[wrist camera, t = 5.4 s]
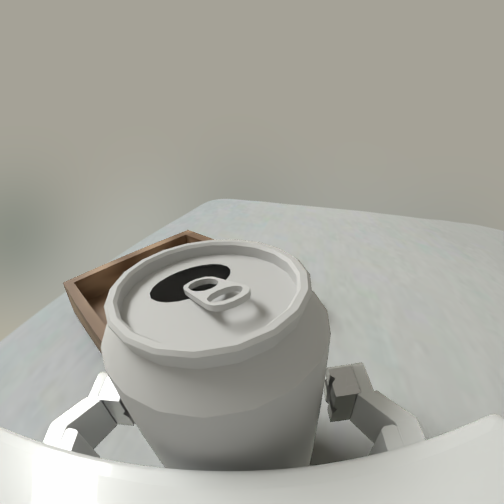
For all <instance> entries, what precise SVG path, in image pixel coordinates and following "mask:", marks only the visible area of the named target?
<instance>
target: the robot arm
mask: <svg viewBox="0 0 504 504" xmlns="http://www.w3.org/2000/svg"><path fill="white" fill-rule="evenodd" d="M326 378H327V379H326V380H325V381H324V395H325V401H326V402H327V403H328V404H329V405H328V414H329V418H330V422H335V421H342V420H349V419H350V421H351V422H352V423H353V424H354V425H355V426H356V427H358V428H359V429H360V430H361V431H362V432H363V433H364V434H365V435H366V436H367V437H368V438H369V439H370V440H371V441H372V442H373V443H374V446H373V447H372V449H371V451H370V453H369V455H368V456H365V457H361V458H356V459H351V460H345V461H340V462H334V463H328V464H321V465H314V466H306V467H297V468H287V469H275V470H257V471H201V470H183V469H171V468H161V467H152V466H144V465H137V464H131V463H124V462H119V461H113V460H108V459H103V458H100V456H99V455H98V454H97V453H96V452H95V451H94V448H95V447H96V446H97V445H98V444H99V443H100V442H101V441H102V440H103V439H104V438H105V437H106V436H107V435H108V434H109V433H110V432H111V431H112V430H113V429H114V428H115V427H116V426H117V424H121V425H131V426H134V423H135V422H134V420H133V419H132V417H131V415H130V414H129V412H128V410H127V409H126V407H125V405H124V404H123V402H122V400H121V398H120V397H119V395H118V393H117V391H116V389H115V388H114V386H113V384H112V382H111V380H110V378H109V376H108V374H107V373H106V372H100V373H99V374H98V376H97V379H96V381H95V383H94V385H93V388H92V390H91V392H90V394H89V397H88V398H84V399H83V400H82V401H80V402H79V403H78V404H76V405H75V406H73V407H72V408H71V409H69V410H68V411H67V412H65V413H64V414H63V415H61V416H60V417H59V418H57V419H56V420H54V421H53V422H52V423H51V425H50V427H49V429H48V432H47V434H46V436H45V439H44V441H43V443H42V442H39V441H36V440H33V439H30V438H28V437H25V436H22V435H19V434H17V433H14V432H12V431H9V430H7V429H4V428H2V427H0V504H504V417H502V416H499V415H497V414H491V415H488V416H486V417H483V418H481V419H479V420H477V421H474V422H472V423H470V424H467V425H465V426H463V427H460V428H458V429H455V430H452V431H450V432H447V433H444V434H442V435H439V436H436V437H433V438H430V439H427V440H426V439H425V437H424V435H423V432H422V430H421V427H420V425H419V422H418V420H417V418H416V417H415V416H414V415H412V414H411V413H409V412H408V411H406V410H405V409H403V408H402V407H400V406H399V405H397V404H396V403H394V402H393V401H392V400H390V399H389V398H387V397H386V396H384V395H383V394H381V393H380V392H379V391H374V390H373V387H372V385H371V382H370V380H369V377H368V374H367V372H366V369H365V367H364V364H363V363H355V364H348V365H341V366H335V367H328V368H327V369H326Z"/></svg>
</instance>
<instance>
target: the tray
mask: <svg viewBox="0 0 504 504" xmlns="http://www.w3.org/2000/svg"><path fill="white" fill-rule="evenodd" d="M207 240H214V239H211V238H209V237H206V236H203V235H200V234H198V233H195V232H192V231H189V230H187V231H184V232H182V233H179V234H177V235H174V236H172V237H169V238H167V239H164V240H162V241H159V242H157V243H155V244H152V245H150V246H147V247H145V248H142V249H140V250H138V251H135V252H133V253H130V254H128V255H126V256H123V257H121V258H118V259H116V260H114V261H111V262H109V263H107V264H104V265H102V266H100V267H98V268H95V269H93V270H91V271H88V272H86V273H84V274H82V275H79V276H77V277H75V278H73V279H70V280H68V281H66V282H64V283H63V284H64V287H65V289H66V292H67V295H68V297H69V300H70V302H71V305H72V307H73V310H74V312H75V314H76V315H77V317H78V319H79V320H80V322H81V323H82V325H83V327H84V328H85V330H86V331H87V333H88V334H89V336H90V337H91V339H92V340H93V342H94V343H95V345H96V346H97V348H98V349H99V351H100V352H101V354H102V351H101V343H102V340H103V336H104V332H105V329H106V325H107V319H106V314H105V309H104V305H105V302H106V299H107V296H108V293H109V290H110V288H111V287H112V286H113V285H114V283H115V282H116V281H117V280H118V279H119V278H120V276H121V275H122V274H123V273H124V272H125V271H126V270H128V269H129V268H131V267H132V266H134V265H135V264H137V263H138V262H139V261H141V260H142V259H145V258H147V257H149V256H151V255H154V254H156V253H158V252H160V251H163V250H166V249H169V248H173V247H176V246H180V245H183V244H187V243H193V242H200V241H207Z"/></svg>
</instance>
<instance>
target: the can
mask: <svg viewBox="0 0 504 504" xmlns="http://www.w3.org/2000/svg"><path fill="white" fill-rule="evenodd" d="M104 309H105V314H106V319H107V325H106V329H105V332H104V336H103V340H102V343H101V351H102V356H103V361H104V366H105V371H106V373H107V374H108V376H109V378H110V380H111V382H112V384H113V386H114V388H115V389H116V391H117V393H118V395H119V397H120V398H121V400H122V402H123V404H124V405H125V407H126V409H127V410H128V412H129V414H130V415H131V417H132V419H133V420H134V422H135V424H136V425H137V427H138V428H139V430H140V431H141V433H142V435H143V436H144V438H145V439H146V441H147V442H148V444H149V445H150V447H151V448H152V450H153V451H154V452H155V454H156V455H157V457H158V458H159V460H160V461H161V462H162V464H163V465H164V466H165V468H171V469H183V470H201V471H257V470H275V469H287V468H297V467H306V466H309V465H310V460H311V455H312V450H313V445H314V440H315V435H316V430H317V424H318V418H319V413H320V407H321V401H322V394H323V388H324V381H325V374H326V367H327V360H328V352H329V344H330V335H331V333H330V326H329V319H328V313H327V310H326V308H325V307H324V305H323V304H322V303H321V301H320V300H319V298H318V297H317V295H316V294H315V293H314V292H313V291H312V289H311V279H310V274H309V273H308V271H307V270H306V269H305V267H304V266H303V265H302V263H301V262H300V261H299V260H298V259H297V258H295V257H293V256H292V255H290V254H288V253H287V252H285V251H283V250H282V249H280V248H277V247H274V246H270V245H267V244H264V243H260V242H254V241H246V240H238V239H226V240H207V241H200V242H193V243H187V244H183V245H180V246H176V247H173V248H169V249H166V250H163V251H160V252H158V253H156V254H154V255H151V256H149V257H147V258H145V259H142V260H141V261H139V262H138V263H137V264H135V265H134V266H132V267H131V268H129V269H128V270H126V271H125V272H124V273H123V274H122V275H121V276H120V278H119V279H118V280H117V281H116V282H115V283H114V285H113V286H112V287H111V288H110V290H109V293H108V296H107V299H106V302H105V305H104Z"/></svg>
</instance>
